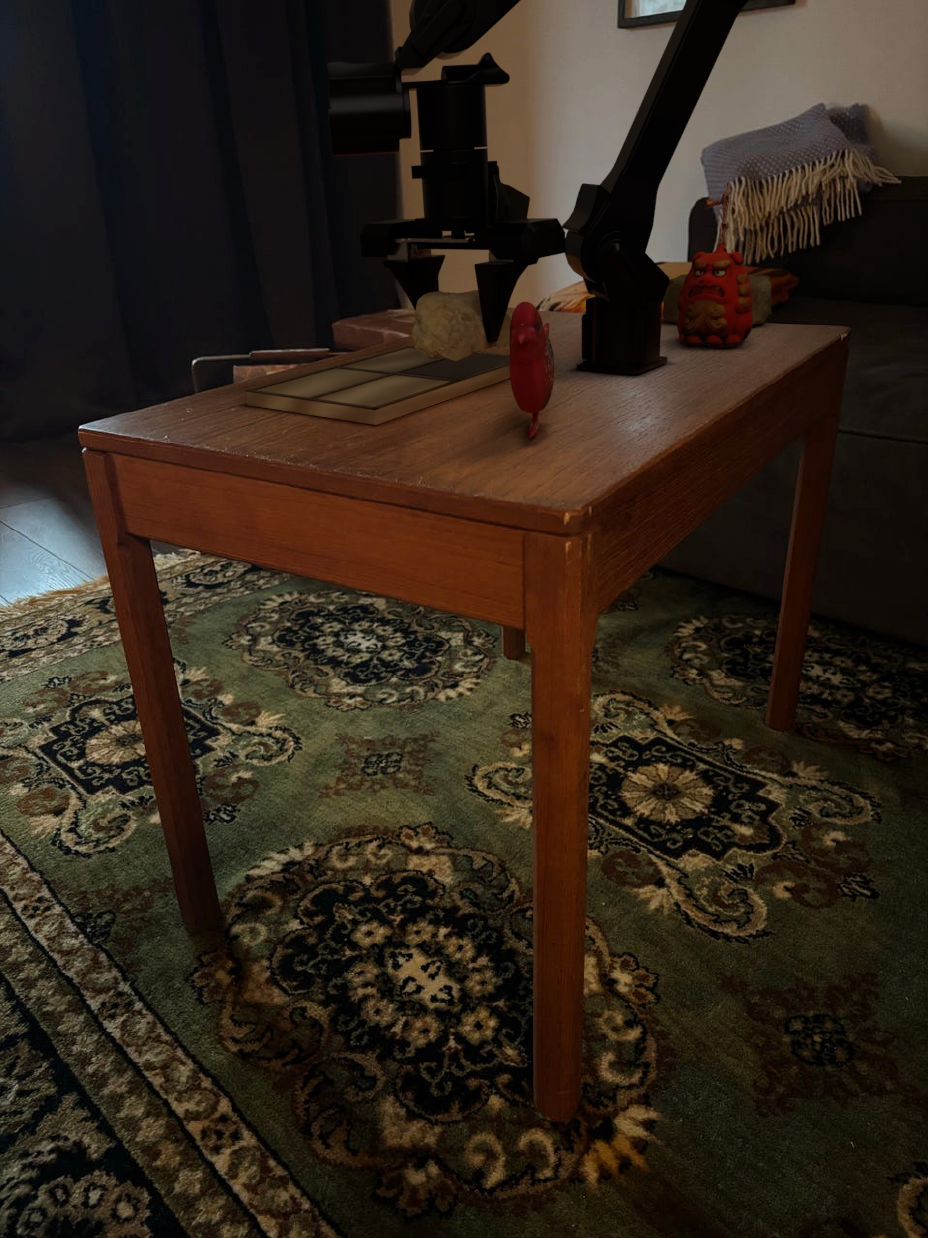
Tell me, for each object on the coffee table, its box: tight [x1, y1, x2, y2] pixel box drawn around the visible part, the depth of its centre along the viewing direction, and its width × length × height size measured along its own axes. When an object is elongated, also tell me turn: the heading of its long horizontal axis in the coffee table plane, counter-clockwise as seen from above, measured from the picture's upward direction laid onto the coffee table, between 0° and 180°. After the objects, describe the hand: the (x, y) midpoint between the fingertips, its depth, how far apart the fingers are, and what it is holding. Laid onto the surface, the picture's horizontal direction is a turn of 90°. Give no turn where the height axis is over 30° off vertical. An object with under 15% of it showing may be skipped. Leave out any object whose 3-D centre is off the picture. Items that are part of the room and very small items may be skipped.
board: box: [245, 345, 510, 426], centre depth 87 cm, size 15×22×1 cm
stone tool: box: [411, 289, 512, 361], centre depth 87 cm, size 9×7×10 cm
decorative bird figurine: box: [508, 301, 555, 440], centre depth 71 cm, size 3×18×10 cm, turn 170°
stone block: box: [662, 273, 773, 325], centre depth 109 cm, size 6×12×5 cm, turn 57°
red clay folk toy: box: [676, 182, 754, 348], centre depth 96 cm, size 8×7×15 cm
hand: (463, 339), depth 88 cm, fingers closed on stone tool, 6 cm apart
